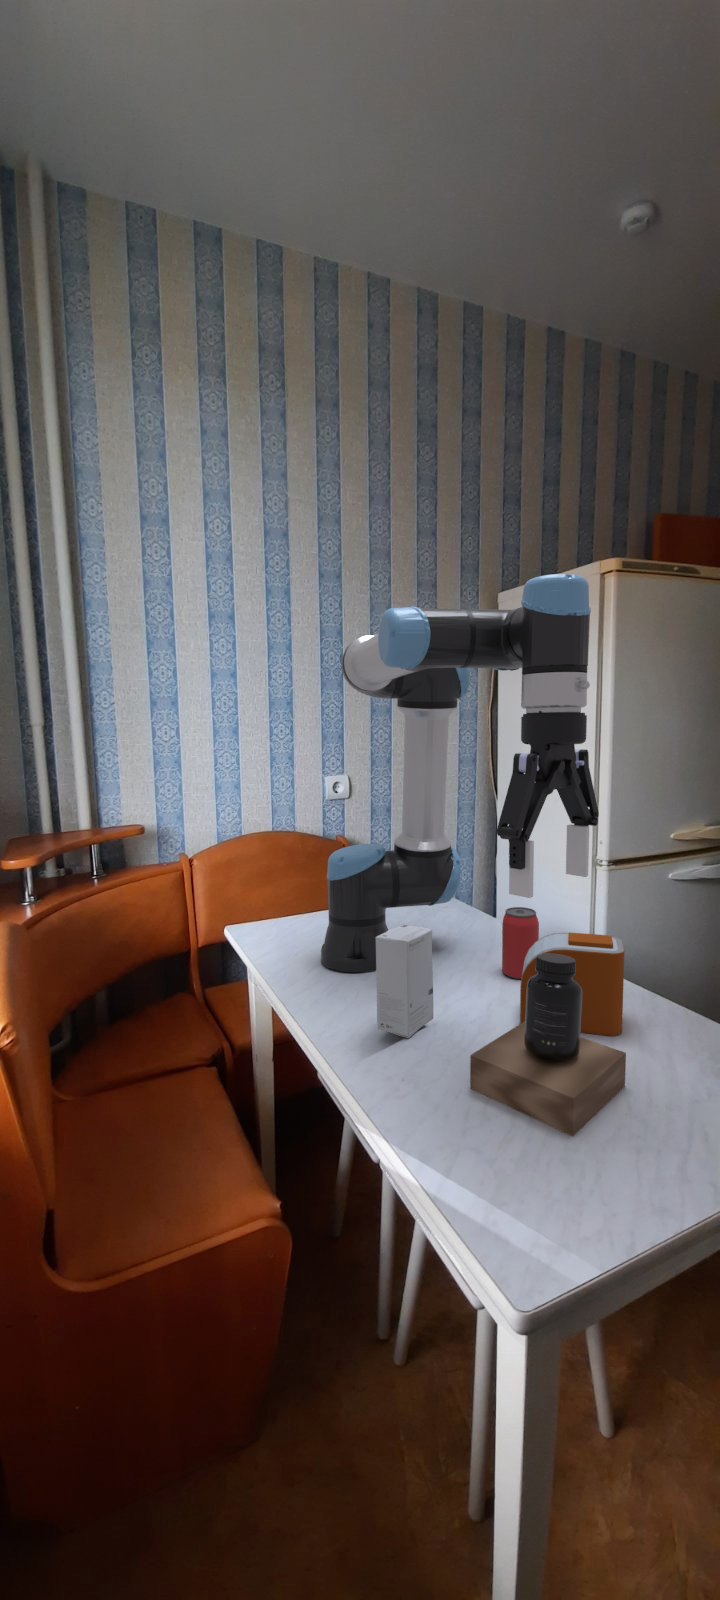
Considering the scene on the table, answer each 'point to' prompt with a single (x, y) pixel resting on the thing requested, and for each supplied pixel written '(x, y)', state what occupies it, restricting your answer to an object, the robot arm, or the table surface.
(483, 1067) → the walnut block
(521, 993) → the alarm clock
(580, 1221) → the table surface
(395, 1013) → the skincare box
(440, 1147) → the table surface
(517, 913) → the beer can
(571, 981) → the supplement bottle
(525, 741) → the robot arm
